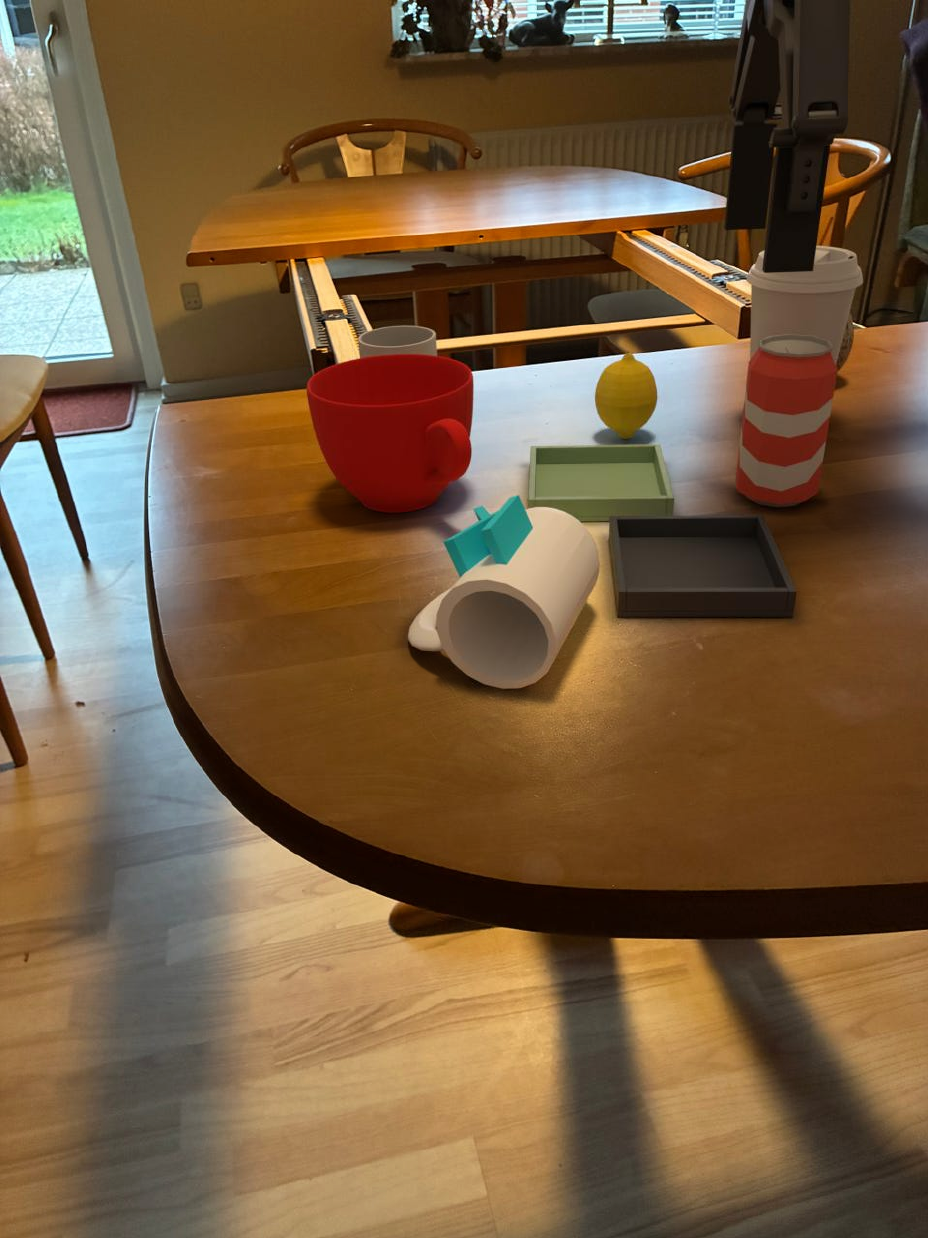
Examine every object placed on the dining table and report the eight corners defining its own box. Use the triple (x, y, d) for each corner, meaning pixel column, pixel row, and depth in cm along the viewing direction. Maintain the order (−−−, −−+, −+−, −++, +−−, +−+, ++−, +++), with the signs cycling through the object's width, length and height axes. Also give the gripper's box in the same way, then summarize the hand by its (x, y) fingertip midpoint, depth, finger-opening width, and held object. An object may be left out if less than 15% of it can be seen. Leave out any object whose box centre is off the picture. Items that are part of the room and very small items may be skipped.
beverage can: (737, 510, 73) (755, 356, 67) (733, 477, 79) (749, 331, 72) (820, 513, 72) (846, 356, 66) (809, 479, 78) (832, 331, 71)
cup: (446, 415, 95) (441, 325, 90) (430, 453, 86) (423, 356, 82) (376, 415, 96) (367, 325, 91) (353, 453, 87) (342, 356, 83)
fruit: (630, 422, 91) (634, 338, 86) (667, 440, 86) (673, 352, 82) (582, 434, 88) (583, 349, 84) (617, 453, 84) (621, 364, 80)
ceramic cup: (395, 567, 68) (382, 434, 63) (296, 491, 80) (278, 375, 75) (538, 517, 74) (538, 392, 69) (426, 453, 86) (418, 343, 81)
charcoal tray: (760, 537, 69) (763, 514, 68) (792, 617, 60) (797, 591, 59) (608, 539, 70) (609, 515, 69) (617, 617, 61) (618, 591, 60)
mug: (574, 450, 59) (510, 534, 49) (626, 576, 62) (575, 677, 53) (421, 499, 65) (338, 583, 56) (475, 612, 68) (406, 708, 59)
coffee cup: (794, 450, 83) (820, 271, 75) (710, 422, 90) (725, 255, 82) (860, 423, 88) (891, 252, 80) (775, 398, 94) (796, 239, 86)
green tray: (658, 464, 82) (659, 443, 81) (672, 520, 72) (674, 497, 71) (530, 466, 83) (530, 445, 82) (528, 521, 73) (528, 499, 72)
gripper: (703, -141, 60) (680, 216, 71) (791, -232, 39) (738, 296, 50) (825, -150, 60) (782, 212, 71) (980, -247, 39) (884, 291, 50)
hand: (763, 248), depth 61 cm, fingers open, 13 cm apart
